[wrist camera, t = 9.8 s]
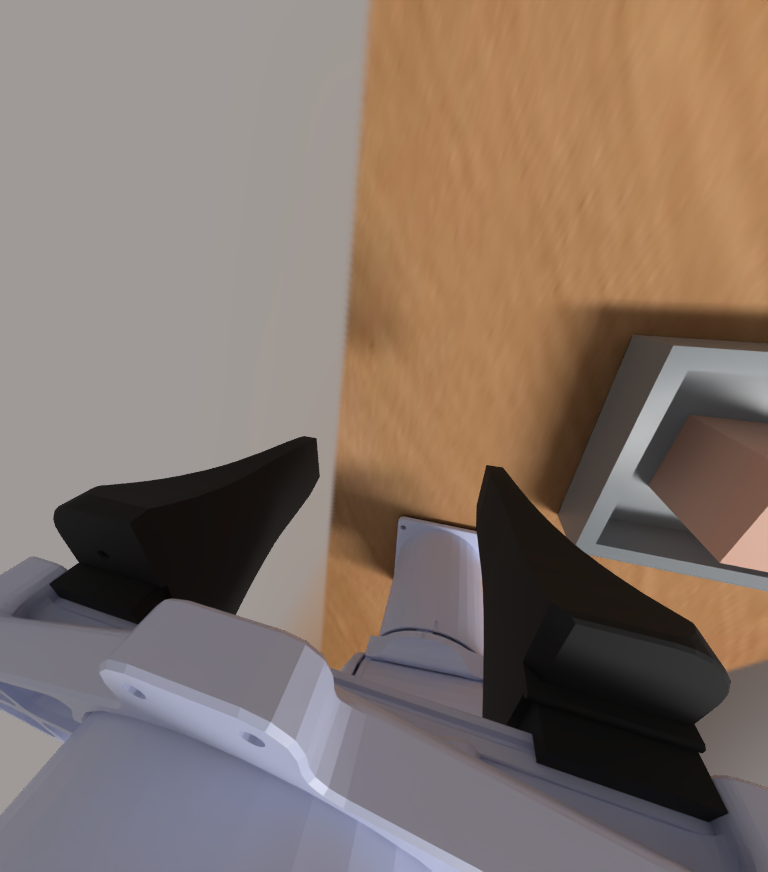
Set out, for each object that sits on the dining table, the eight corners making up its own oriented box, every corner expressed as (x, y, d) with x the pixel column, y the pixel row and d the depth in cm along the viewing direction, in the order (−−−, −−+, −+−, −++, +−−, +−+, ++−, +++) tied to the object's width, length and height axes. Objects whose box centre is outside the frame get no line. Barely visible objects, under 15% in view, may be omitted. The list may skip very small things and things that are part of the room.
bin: (770, 553, 19) (827, 603, 16) (557, 514, 22) (572, 551, 19) (960, 355, 13) (1109, 375, 10) (633, 334, 16) (673, 345, 13)
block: (742, 500, 17) (859, 589, 12) (648, 486, 18) (719, 562, 13) (801, 427, 15) (976, 498, 10) (689, 414, 16) (795, 474, 11)
